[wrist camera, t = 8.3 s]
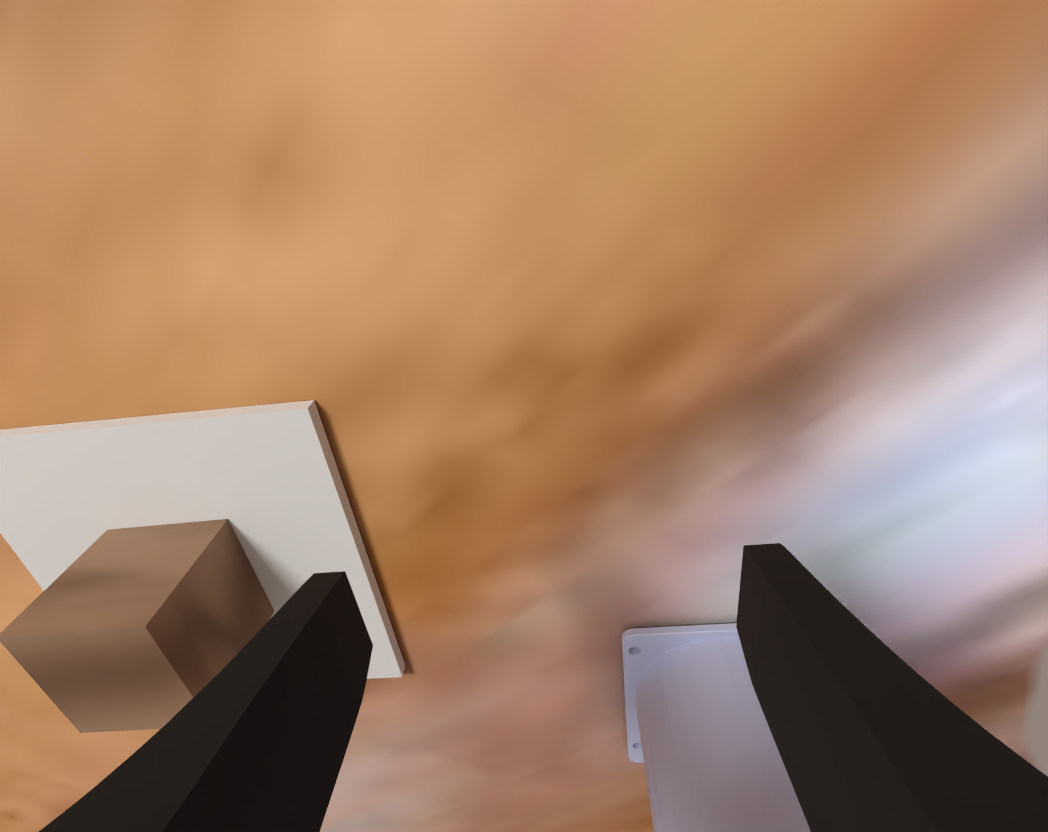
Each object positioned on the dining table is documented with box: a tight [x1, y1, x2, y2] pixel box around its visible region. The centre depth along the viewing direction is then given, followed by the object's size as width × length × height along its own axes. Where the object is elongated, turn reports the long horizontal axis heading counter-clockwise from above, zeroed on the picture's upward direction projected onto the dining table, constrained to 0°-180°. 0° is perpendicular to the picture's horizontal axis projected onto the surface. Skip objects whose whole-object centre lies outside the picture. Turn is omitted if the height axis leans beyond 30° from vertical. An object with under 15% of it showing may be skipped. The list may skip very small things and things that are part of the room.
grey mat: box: [0, 400, 405, 679], centre depth 23 cm, size 14×14×1 cm
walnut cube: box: [0, 519, 274, 733], centre depth 20 cm, size 5×5×5 cm
